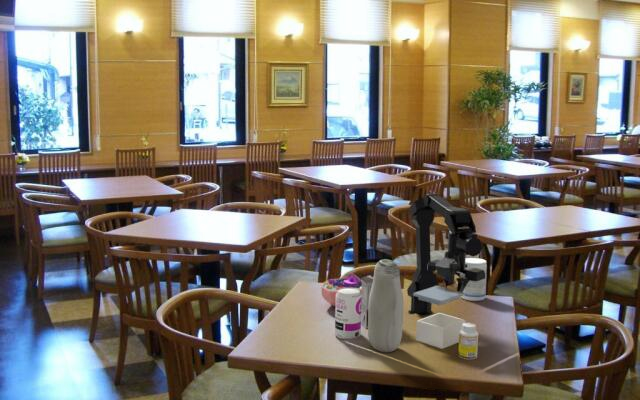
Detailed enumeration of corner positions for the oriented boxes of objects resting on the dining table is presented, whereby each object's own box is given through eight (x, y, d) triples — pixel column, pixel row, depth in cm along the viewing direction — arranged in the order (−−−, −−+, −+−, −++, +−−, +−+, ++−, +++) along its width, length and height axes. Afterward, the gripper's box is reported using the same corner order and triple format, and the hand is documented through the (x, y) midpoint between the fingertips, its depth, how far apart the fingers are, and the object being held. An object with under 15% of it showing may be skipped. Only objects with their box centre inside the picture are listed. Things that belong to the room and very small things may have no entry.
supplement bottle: (463, 352, 218) (465, 320, 216) (480, 357, 214) (482, 324, 213) (454, 357, 213) (456, 324, 212) (471, 362, 210) (473, 329, 208)
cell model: (309, 305, 262) (310, 275, 260) (350, 296, 274) (351, 267, 273) (341, 317, 249) (342, 285, 247) (382, 307, 262) (383, 276, 260)
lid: (412, 300, 225) (413, 290, 225) (445, 289, 237) (445, 280, 237) (440, 308, 218) (441, 298, 217) (472, 296, 230) (473, 287, 229)
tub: (415, 342, 226) (416, 320, 225) (438, 333, 235) (439, 312, 233) (442, 350, 219) (443, 328, 218) (464, 341, 228) (465, 320, 227)
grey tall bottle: (407, 352, 217) (411, 262, 213) (380, 358, 212) (383, 266, 207) (387, 342, 225) (390, 255, 221) (361, 348, 220) (363, 258, 215)
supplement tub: (490, 299, 274) (492, 261, 272) (472, 303, 269) (474, 264, 266) (472, 293, 282) (474, 256, 279) (454, 296, 277) (456, 259, 274)
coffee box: (385, 321, 246) (387, 275, 243) (391, 327, 239) (393, 280, 237) (359, 322, 243) (361, 276, 241) (365, 329, 237) (367, 281, 235)
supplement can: (363, 333, 233) (364, 288, 230) (356, 342, 225) (357, 295, 223) (339, 330, 235) (340, 286, 233) (331, 338, 228) (332, 292, 225)
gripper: (418, 247, 230) (415, 294, 233) (467, 258, 217) (465, 308, 220) (438, 242, 238) (436, 288, 241) (487, 252, 225) (484, 300, 228)
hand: (454, 296), depth 232 cm, fingers closed on lid, 3 cm apart
